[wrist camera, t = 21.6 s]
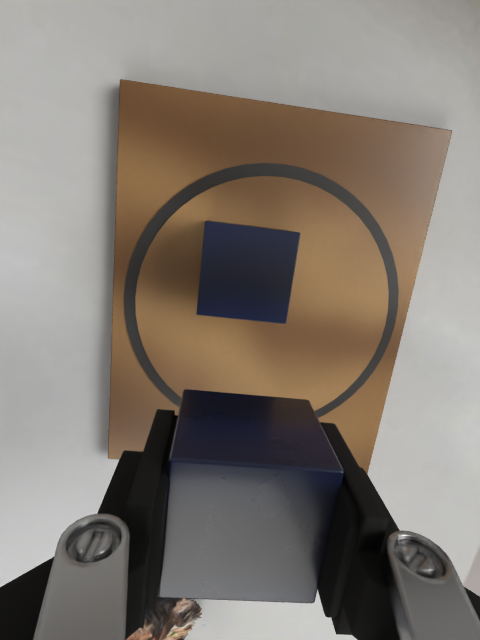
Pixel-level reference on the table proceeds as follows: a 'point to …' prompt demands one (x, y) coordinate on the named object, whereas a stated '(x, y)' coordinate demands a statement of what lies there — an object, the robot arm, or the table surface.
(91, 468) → the table surface
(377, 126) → the board
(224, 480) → the dark blue block
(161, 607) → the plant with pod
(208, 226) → the dark blue cube
